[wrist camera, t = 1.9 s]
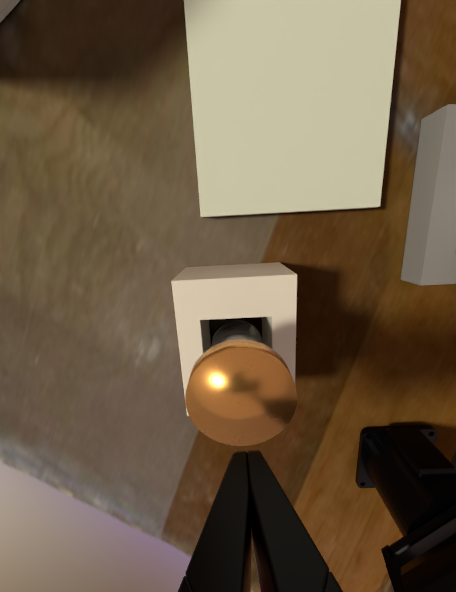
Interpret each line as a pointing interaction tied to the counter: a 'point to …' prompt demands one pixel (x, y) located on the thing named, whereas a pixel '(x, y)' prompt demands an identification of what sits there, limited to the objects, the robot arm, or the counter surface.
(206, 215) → the dock pad
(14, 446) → the counter surface
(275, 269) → the plunger housing
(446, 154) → the socket
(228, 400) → the plunger
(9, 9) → the supplement box
